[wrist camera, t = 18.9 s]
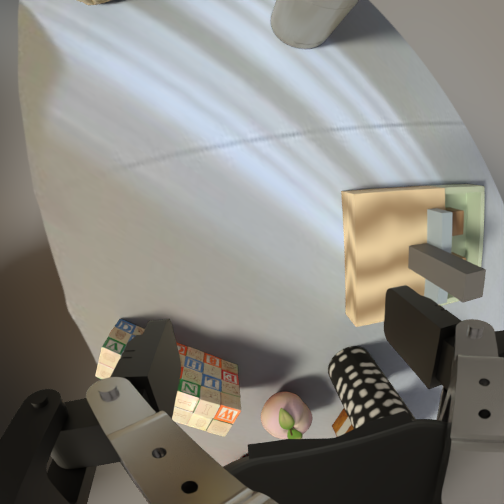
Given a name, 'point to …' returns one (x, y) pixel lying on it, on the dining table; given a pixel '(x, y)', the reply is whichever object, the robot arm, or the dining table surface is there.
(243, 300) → the dining table surface
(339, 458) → the robot arm
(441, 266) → the scraper
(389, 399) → the spotted tube
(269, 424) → the decorative fruit
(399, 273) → the board
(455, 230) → the brown wood cube
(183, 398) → the stack of blocks
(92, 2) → the ceramic vessel
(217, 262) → the dining table surface
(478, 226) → the tray
